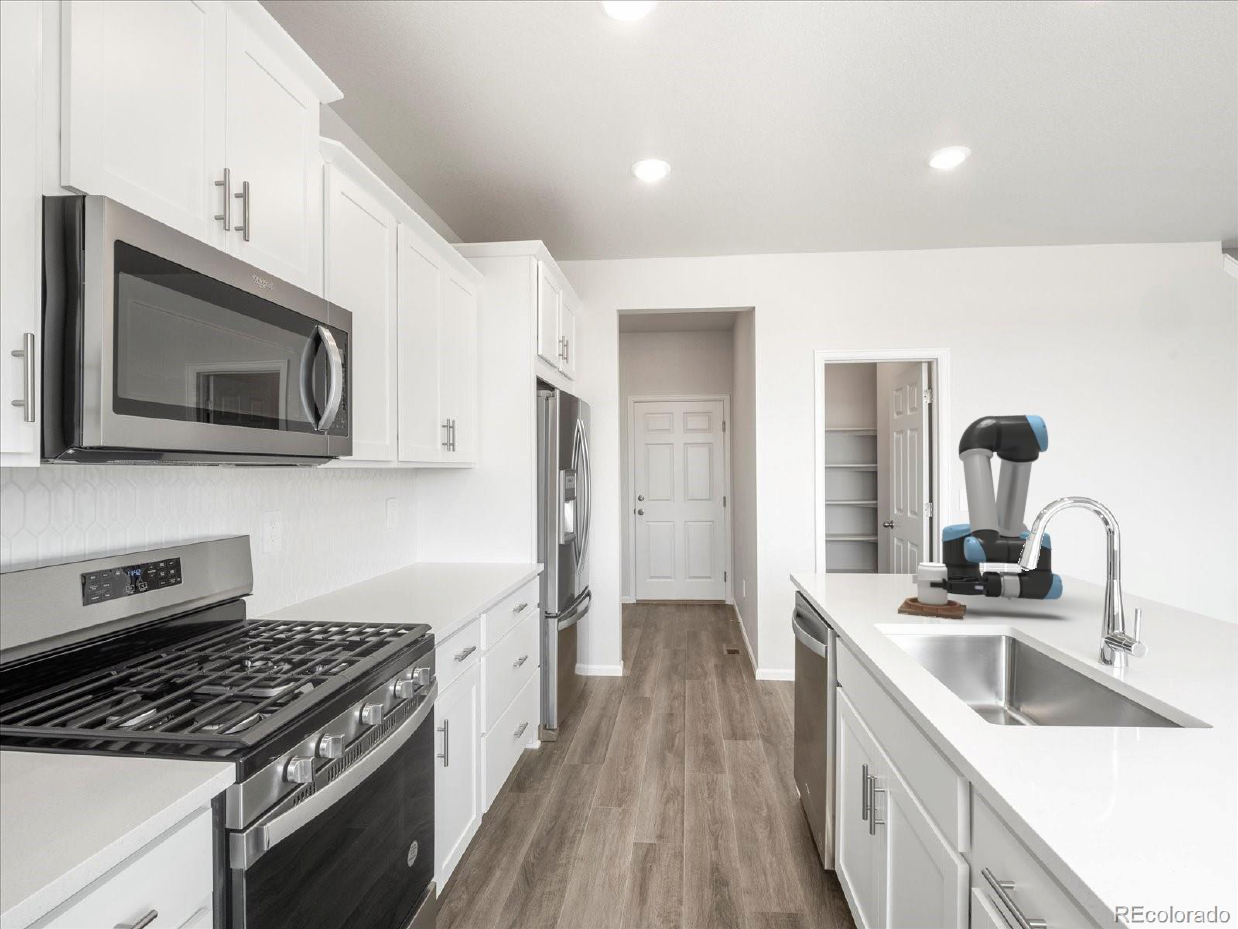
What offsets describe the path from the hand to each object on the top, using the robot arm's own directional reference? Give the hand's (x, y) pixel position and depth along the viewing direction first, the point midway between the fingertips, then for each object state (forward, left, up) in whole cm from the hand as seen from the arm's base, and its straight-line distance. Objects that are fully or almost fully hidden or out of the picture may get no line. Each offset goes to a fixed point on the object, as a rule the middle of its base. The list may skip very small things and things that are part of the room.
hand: (915, 581), depth 195 cm
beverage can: (-5, +1, -7) cm, 8 cm away
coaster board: (-5, +1, -9) cm, 10 cm away
